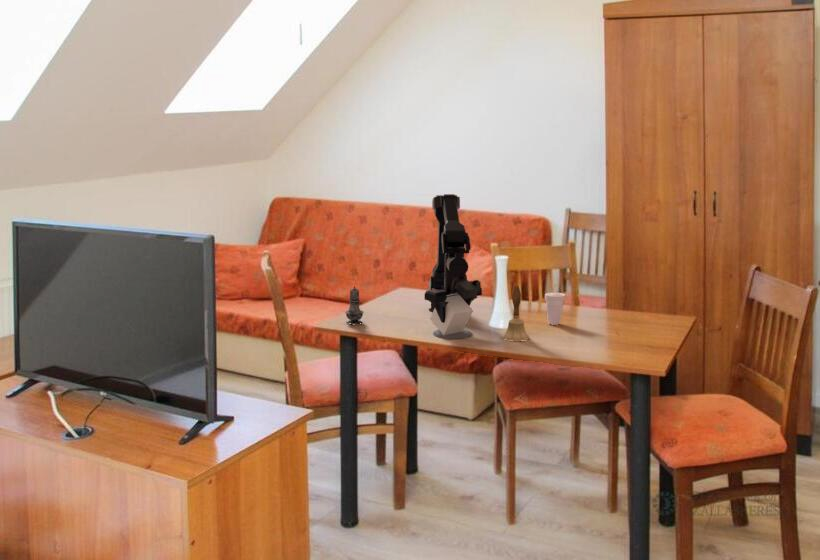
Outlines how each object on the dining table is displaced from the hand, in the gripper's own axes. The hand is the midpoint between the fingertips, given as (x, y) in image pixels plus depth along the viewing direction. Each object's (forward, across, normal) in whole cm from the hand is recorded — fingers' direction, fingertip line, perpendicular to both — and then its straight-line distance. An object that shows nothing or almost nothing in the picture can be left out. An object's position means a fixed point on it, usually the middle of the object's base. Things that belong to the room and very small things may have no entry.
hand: (453, 320), depth 296 cm
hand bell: (+4, +12, -15) cm, 20 cm away
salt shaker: (+4, -16, +29) cm, 33 cm away
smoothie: (+4, +34, -10) cm, 36 cm away
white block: (+2, 0, +3) cm, 4 cm away
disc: (+4, 0, 0) cm, 4 cm away
